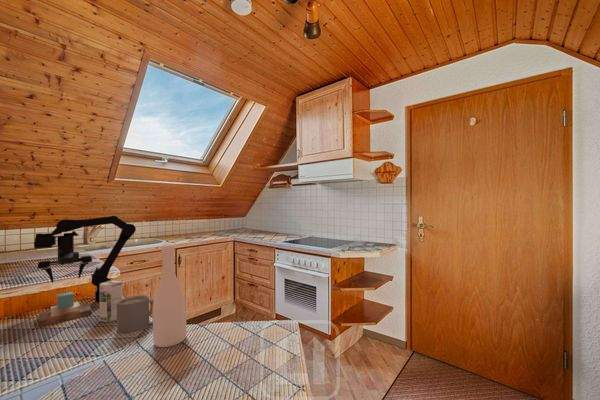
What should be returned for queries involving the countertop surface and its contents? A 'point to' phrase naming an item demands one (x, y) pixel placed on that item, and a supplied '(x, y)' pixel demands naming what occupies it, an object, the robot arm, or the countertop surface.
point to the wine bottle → (169, 305)
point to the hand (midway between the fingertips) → (66, 280)
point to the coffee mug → (133, 313)
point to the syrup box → (110, 300)
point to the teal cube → (65, 300)
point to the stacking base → (64, 314)
